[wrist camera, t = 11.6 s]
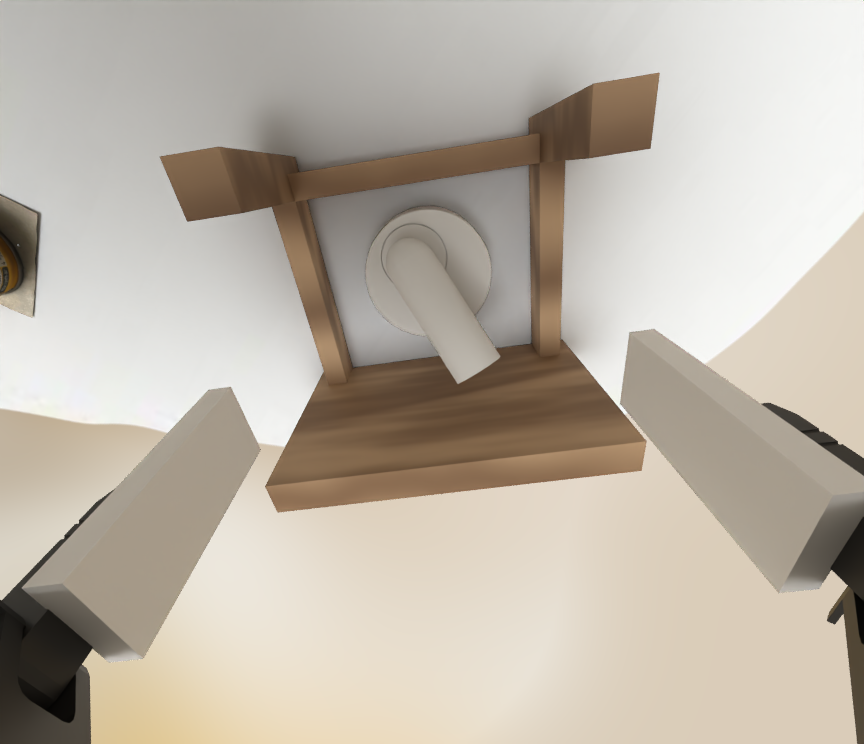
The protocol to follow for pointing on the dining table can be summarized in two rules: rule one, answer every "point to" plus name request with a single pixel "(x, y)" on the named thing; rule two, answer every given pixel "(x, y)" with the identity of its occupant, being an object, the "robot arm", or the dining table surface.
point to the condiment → (17, 256)
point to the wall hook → (434, 284)
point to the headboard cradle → (429, 377)
